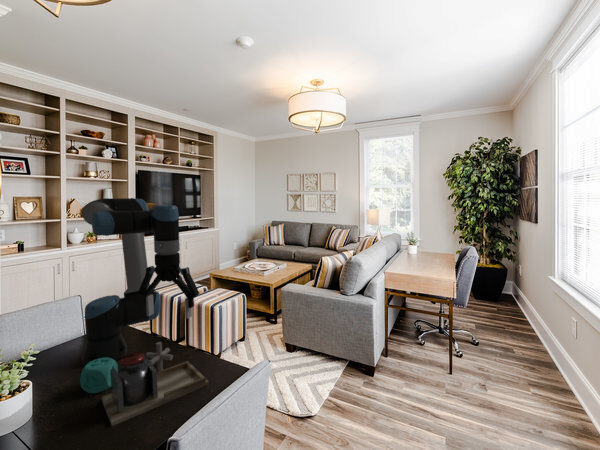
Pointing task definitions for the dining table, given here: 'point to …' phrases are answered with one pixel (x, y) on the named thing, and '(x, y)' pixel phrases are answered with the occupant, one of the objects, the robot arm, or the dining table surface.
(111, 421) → the jig
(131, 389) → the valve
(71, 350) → the dining table surface
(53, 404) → the dining table surface
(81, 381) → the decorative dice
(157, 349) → the pipe connector
